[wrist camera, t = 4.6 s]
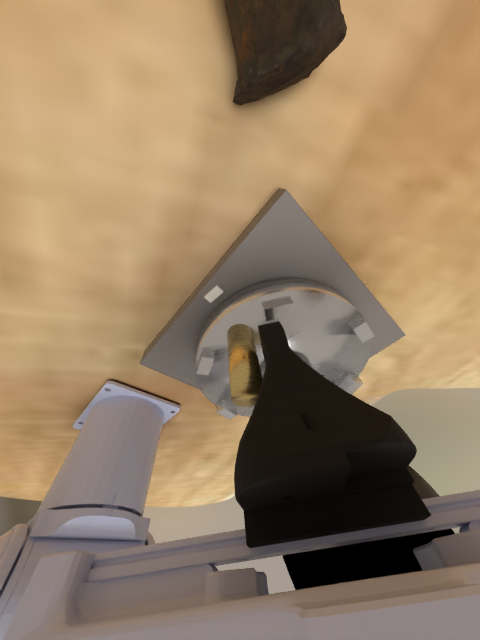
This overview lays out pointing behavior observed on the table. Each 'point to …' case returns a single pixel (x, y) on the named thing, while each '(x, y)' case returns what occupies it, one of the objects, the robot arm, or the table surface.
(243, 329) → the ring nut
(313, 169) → the table surface
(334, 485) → the robot arm
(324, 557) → the coal bowl
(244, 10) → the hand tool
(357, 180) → the table surface
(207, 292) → the base plate
